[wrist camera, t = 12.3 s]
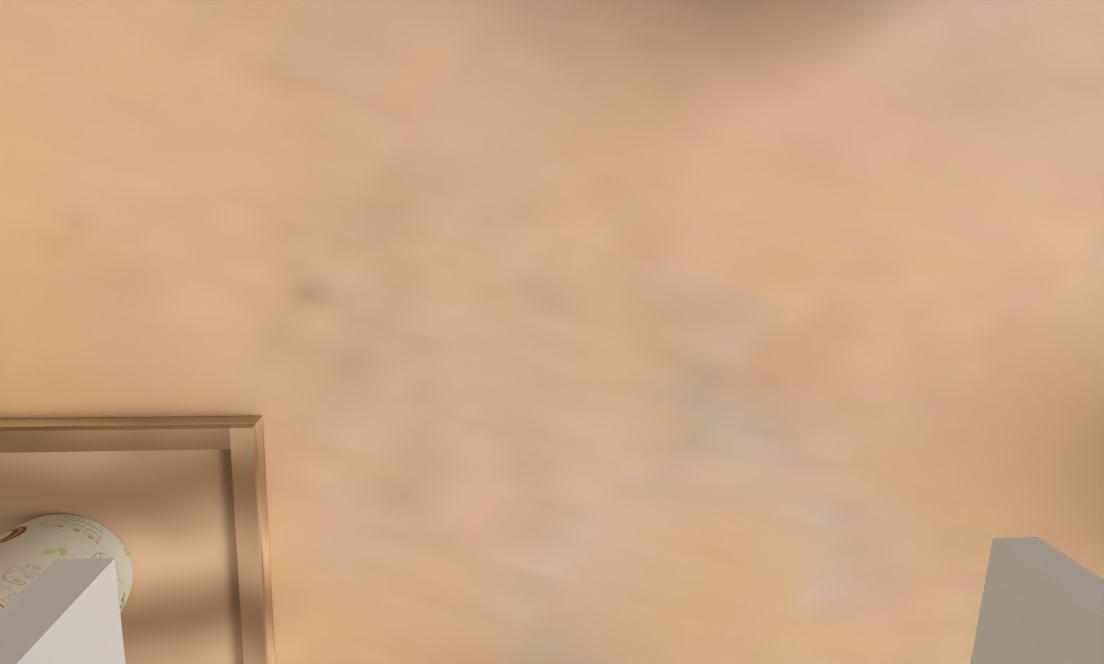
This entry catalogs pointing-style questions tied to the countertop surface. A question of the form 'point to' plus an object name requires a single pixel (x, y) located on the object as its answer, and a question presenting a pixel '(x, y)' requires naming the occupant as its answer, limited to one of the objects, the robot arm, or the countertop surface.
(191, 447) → the wooden tray
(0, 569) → the mug
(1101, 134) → the countertop surface
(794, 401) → the countertop surface
